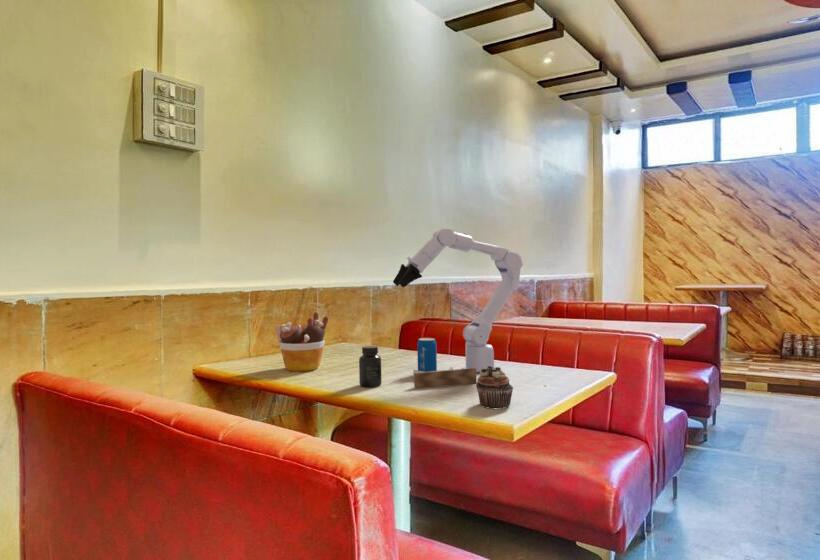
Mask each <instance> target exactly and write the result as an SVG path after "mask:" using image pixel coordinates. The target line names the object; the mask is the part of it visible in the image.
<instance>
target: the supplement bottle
mask: <svg viewBox="0 0 820 560" xmlns="http://www.w3.org/2000/svg"><path fill="white" fill-rule="evenodd" d="M361 353H362V355H360V357H359V359H358V370H359V371H358V373H359V375H358V378H359V380H358V381H359V386H360V388H361V387H362V388H365V389H367V388H378V387H380V386H381V385H382V357H381V355H379V354H378V353H379V348H378V346H376V345H365V346H362V349H361Z"/></svg>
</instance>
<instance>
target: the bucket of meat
mask: <svg viewBox="0 0 820 560" xmlns="http://www.w3.org/2000/svg"><path fill="white" fill-rule="evenodd" d="M312 317H313V318H311V317H308V319H307V320H306V321H307V325H306V324H304V325H300V324H299V325H298V324H294V323H293V324H292V322H291V321H288V322H286V323H283V324H279V325H277V326H275V327H274V332H275V334H276V335H277V339H278V345H279V348H280V351H281V355H282V359H283V363H284V367H285V369H287V370H288V371H289V372H292V373H293V372H294V373H304V372H307V373H308V372H311V371H315V370H317V369H318V368H319V367H320V366H321V361H322V355H323V350H324V346H325V343H326V340H325V339H324V337H325V334H326V328H327V325H328V321H329V317H328V316H326V315H325V316H324V317H323V318H322V321H320V320H319V313H318V312H314V313H313V316H312Z"/></svg>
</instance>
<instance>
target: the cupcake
mask: <svg viewBox="0 0 820 560" xmlns="http://www.w3.org/2000/svg"><path fill="white" fill-rule="evenodd" d="M493 369H494V370H493ZM475 384H476V385H475V387H476V391H477V396H478V400H479V401H478V402H479V404H480V406H481V405H482V406H484V407H483V408H485V407H489V408H488V409H491V408H501V409H504V408H503V407H507V408H509V407H510V406H511V403H512V402H511V401H512V396H513V390H514V387H513V386H512V384H511V383H510V378H509V377H508V376H507V375H506V373H505V371H503V370H502V369H501V367H500V366H497V367H494V368H493V367H491V366H488V368H487V369H482V370H481V371H480V372H479V376H478V378H477V383H475ZM509 405H510V406H509ZM482 406H481V407H482ZM508 406H509V407H508Z"/></svg>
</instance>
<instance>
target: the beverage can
mask: <svg viewBox="0 0 820 560" xmlns="http://www.w3.org/2000/svg"><path fill="white" fill-rule="evenodd" d="M416 345H417V347H416V348H417V370H419V371H425V372H429V371H438V368H437V367H438V366H437V365H438V364H437V363H438V361H437V360H438V359H437V357H438V356H437V354H438V353H437V351H438V350H437V341H436V339H435V338H434V337H433V338H432V337H420V338H418V341H417V344H416Z"/></svg>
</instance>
